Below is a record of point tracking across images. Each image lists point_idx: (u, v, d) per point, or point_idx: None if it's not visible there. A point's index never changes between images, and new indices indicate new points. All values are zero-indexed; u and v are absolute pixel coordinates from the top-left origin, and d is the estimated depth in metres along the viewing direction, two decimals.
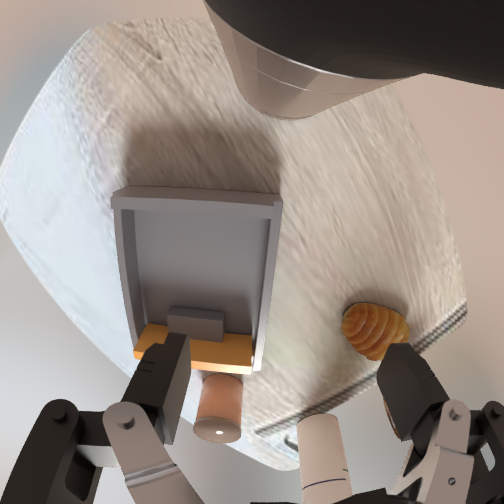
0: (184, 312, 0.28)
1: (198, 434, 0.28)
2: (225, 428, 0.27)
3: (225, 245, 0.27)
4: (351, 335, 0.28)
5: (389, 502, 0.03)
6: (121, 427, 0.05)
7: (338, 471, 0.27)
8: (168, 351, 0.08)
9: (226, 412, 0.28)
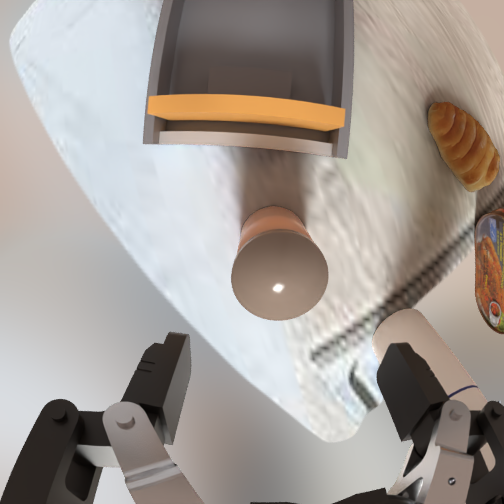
0: None
1: (240, 291, 0.17)
2: (301, 256, 0.16)
3: (291, 7, 0.16)
4: (445, 131, 0.18)
5: (389, 502, 0.03)
6: (121, 427, 0.05)
7: (466, 375, 0.16)
8: (168, 351, 0.08)
9: (298, 230, 0.17)
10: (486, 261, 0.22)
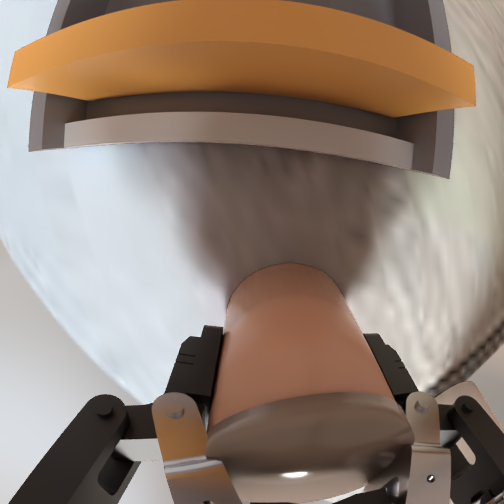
0: None
1: None
2: (366, 447, 0.05)
3: None
4: None
5: None
6: (173, 417, 0.06)
7: None
8: (207, 343, 0.09)
9: (361, 369, 0.06)
10: None
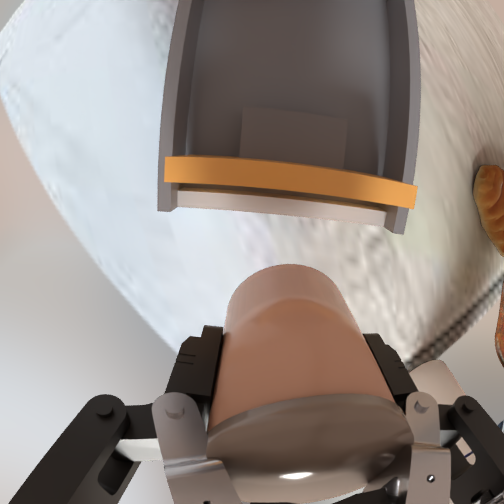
0: None
1: None
2: (365, 448, 0.05)
3: (339, 26, 0.13)
4: (491, 204, 0.15)
5: None
6: (173, 417, 0.06)
7: None
8: (207, 343, 0.09)
9: (361, 370, 0.06)
10: None
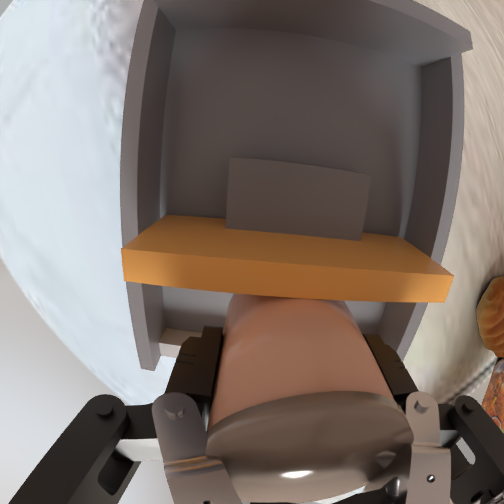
0: (273, 160, 0.11)
1: None
2: (365, 446, 0.05)
3: (357, 120, 0.12)
4: (492, 326, 0.14)
5: None
6: (173, 417, 0.06)
7: (451, 503, 0.11)
8: (207, 343, 0.09)
9: (360, 368, 0.06)
10: (499, 388, 0.18)
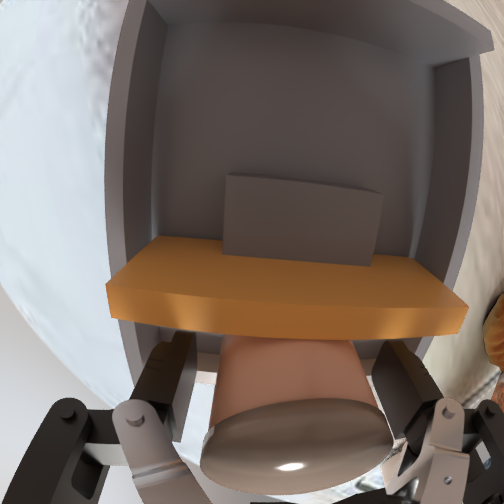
0: (275, 177, 0.10)
1: (220, 478, 0.06)
2: (347, 446, 0.06)
3: (368, 125, 0.10)
4: (499, 343, 0.13)
5: (385, 503, 0.03)
6: (131, 425, 0.05)
7: None
8: (176, 349, 0.08)
9: (345, 376, 0.07)
10: (503, 398, 0.17)
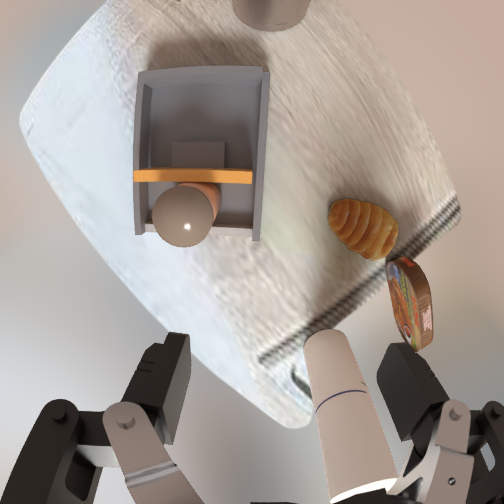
0: None
1: (158, 227, 0.25)
2: (191, 201, 0.24)
3: (226, 118, 0.29)
4: (339, 228, 0.31)
5: (389, 502, 0.03)
6: (121, 427, 0.05)
7: (356, 382, 0.28)
8: (168, 351, 0.08)
9: (195, 186, 0.25)
10: (397, 294, 0.35)
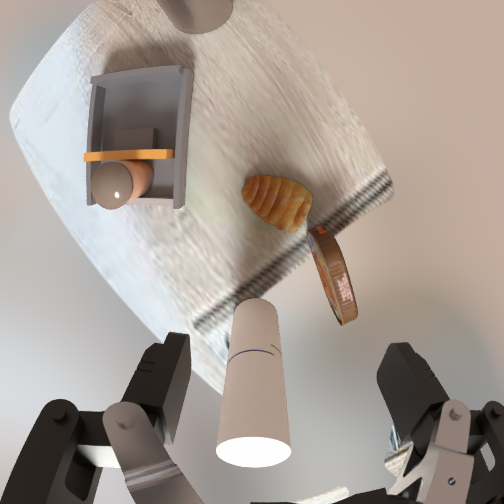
0: None
1: (94, 193, 0.29)
2: (116, 172, 0.28)
3: (158, 109, 0.33)
4: (250, 201, 0.36)
5: (389, 502, 0.03)
6: (121, 427, 0.05)
7: (265, 344, 0.33)
8: (168, 351, 0.08)
9: (123, 162, 0.29)
10: (320, 266, 0.39)
